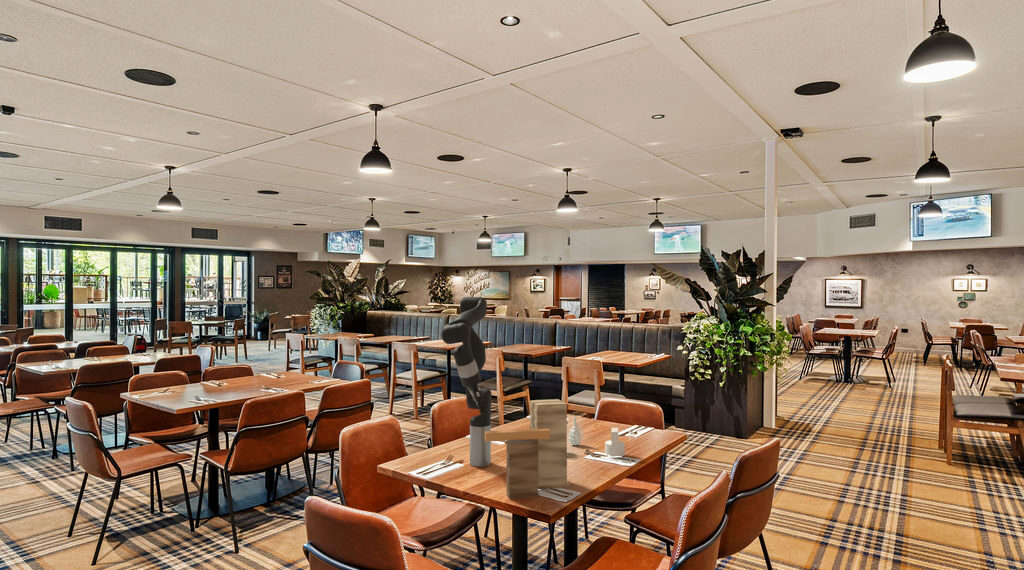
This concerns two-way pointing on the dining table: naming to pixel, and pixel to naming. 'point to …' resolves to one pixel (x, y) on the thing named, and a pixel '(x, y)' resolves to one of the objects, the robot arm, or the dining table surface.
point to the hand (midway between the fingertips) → (480, 407)
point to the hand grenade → (575, 434)
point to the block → (522, 468)
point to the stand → (551, 442)
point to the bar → (517, 435)
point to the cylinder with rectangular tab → (614, 445)
